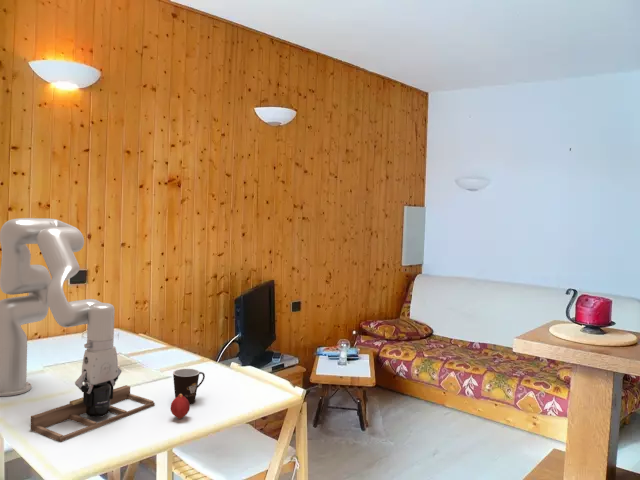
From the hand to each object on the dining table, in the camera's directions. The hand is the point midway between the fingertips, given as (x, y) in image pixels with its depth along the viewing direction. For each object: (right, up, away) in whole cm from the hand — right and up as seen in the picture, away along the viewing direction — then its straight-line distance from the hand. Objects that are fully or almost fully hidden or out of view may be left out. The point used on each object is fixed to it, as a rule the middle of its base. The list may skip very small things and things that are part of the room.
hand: (98, 401), depth 167 cm
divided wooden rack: (0, -5, 0) cm, 5 cm away
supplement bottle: (0, -4, 0) cm, 4 cm away
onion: (+24, -6, +3) cm, 25 cm away
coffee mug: (+24, -5, +18) cm, 30 cm away
